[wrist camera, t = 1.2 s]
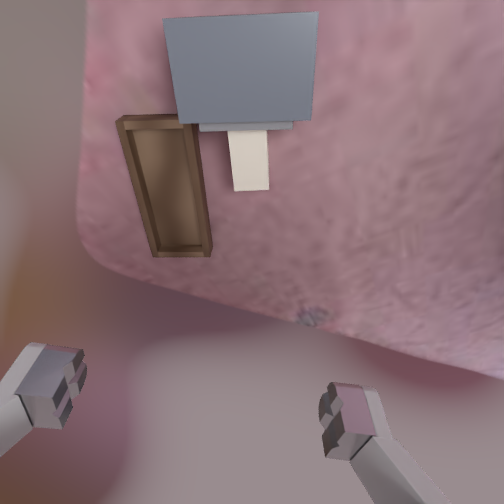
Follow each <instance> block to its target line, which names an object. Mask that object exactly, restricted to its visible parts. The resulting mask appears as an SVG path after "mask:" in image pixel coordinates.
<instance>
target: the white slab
mask: <svg viewBox="0 0 504 504" xmlns="http://www.w3.org/2000/svg"><path fill="white" fill-rule="evenodd" d="M228 140H229V148H230V157H231V166H232V175H233V183H234V191H252V190H269V152H268V130H244V131H228Z"/></svg>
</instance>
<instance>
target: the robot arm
mask: <svg viewBox="0 0 504 504" xmlns="http://www.w3.org/2000/svg"><path fill="white" fill-rule="evenodd" d="M84 356H85V355H84V351H83V349H77V348H69V347H62V346H54V345H49V344H42V343H34V342H31V343H30V344H28V345H27V346H26V347H25V348H24V349H23V350H22V352H21V353H20V355H19V356H18V357H17V359H16V360H15V362H14V363H13V365H12V366H11V367H10V369H9V370H8V372H7V373H6V374H5V376H4V377H3V379H2V380H1V381H0V457H1V456H2V455H3V454H4V453H5V452H7V451H8V450H9V449H10V448H11V447H12V446H13V445H15V444H16V443H17V442H18V441H19V440H20V439H22V438H23V437H24V436H25V435H26V434H27V433H28V432H30V431H31V430H32V427H41V428H53V429H63V427H64V425H65V423H66V421H67V419H68V417H69V414H70V412H71V411H72V408H73V406H72V401H71V400H72V399H73V398H74V397H76V396H77V395H78V394H80V392H81V389H82V387H83V385H84V382H85V379H86V375H87V366H86V363H84V362H83V361H82V360H83V358H84ZM327 389H328V392H326V393H324V394H323V395H322V397H321V399H320V402H319V420H320V423H321V424H322V426H323V427H324V428H325V431H324V433H323V435H322V440H323V447H324V453H325V457H326V458H332V459H340V460H347V461H350V464H351V466H352V467H353V469H354V471H355V472H356V474H357V476H358V477H359V479H360V480H361V482H362V484H363V485H364V487H365V489H366V490H367V492H368V494H369V495H370V497H371V498H372V500H373V502H374V503H375V504H452V503H451V502H450V501H449V500H448V498H447V497H446V496H445V495H444V494H443V493H442V491H441V490H440V489H439V488H438V487H437V485H436V484H435V483H434V482H433V481H432V480H431V478H430V477H429V476H428V475H427V474H426V473H425V472H424V470H423V469H422V468H421V467H420V466H419V464H418V463H417V462H416V461H415V460H414V458H413V457H412V456H411V455H410V454H409V453H408V451H407V450H406V449H405V448H404V447H403V446H402V444H401V443H400V442H399V441H398V440H397V439H393V437H392V434H391V431H390V428H389V425H388V422H387V419H386V416H385V413H384V410H383V406H382V403H381V400H380V397H379V394H378V391H377V390H376V389H375V388H374V387H369V386H360V385H354V384H345V383H337V382H331V383H329V385H328V387H327Z"/></svg>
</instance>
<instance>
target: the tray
mask: <svg viewBox="0 0 504 504" xmlns="http://www.w3.org/2000/svg"><path fill="white" fill-rule="evenodd" d="M115 123H116V127H117V130H118V134H119V137H120V141H121V145H122V148H123V152H124V155H125V159H126V163H127V166H128V170H129V173H130V177H131V181H132V184H133V188H134V191H135V195H136V198H137V202H138V206H139V209H140V213H141V216H142V220H143V224H144V227H145V231H146V234H147V238H148V242H149V245H150V249H151V252H152V256H153V257H210V256H211V252H212V248H213V244H212V237H211V229H210V222H209V215H208V207H207V200H206V192H205V185H204V177H203V170H202V163H201V155H200V148H199V140H198V133H197V125H196V123H190V124H180V123H179V117H178V114H153V115H123V116H122V117H121V118H119V119H118V120H116V121H115Z"/></svg>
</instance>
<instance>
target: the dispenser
mask: <svg viewBox="0 0 504 504" xmlns="http://www.w3.org/2000/svg"><path fill="white" fill-rule="evenodd" d="M318 15H319V12H291V13H269V14H247V15H225V16H203V17H182V18H166V19H162V20H163V26H164V32H165V38H166V44H167V51H168V57H169V63H170V69H171V75H172V81H173V87H174V93H175V99H176V105H177V111H178V117H179V123H180V124H190V123H199V129H200V132H204V131H244V130H284V129H293V121H303V120H311V115H312V101H313V86H314V72H315V58H316V44H317V29H318Z"/></svg>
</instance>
